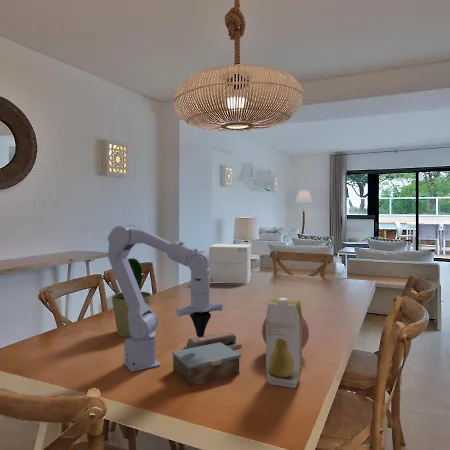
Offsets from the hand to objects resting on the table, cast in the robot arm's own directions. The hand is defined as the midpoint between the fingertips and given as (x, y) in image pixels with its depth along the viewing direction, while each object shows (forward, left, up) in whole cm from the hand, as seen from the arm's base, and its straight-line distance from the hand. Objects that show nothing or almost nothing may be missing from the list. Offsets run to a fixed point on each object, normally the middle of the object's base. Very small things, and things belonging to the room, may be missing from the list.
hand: (200, 336), depth 121 cm
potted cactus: (-8, +45, -10) cm, 47 cm away
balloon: (+28, -6, -10) cm, 30 cm away
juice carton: (+16, -21, -10) cm, 28 cm away
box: (0, -4, -10) cm, 10 cm away
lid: (0, -4, -5) cm, 7 cm away
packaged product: (+12, +14, -11) cm, 21 cm away
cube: (+82, +121, -11) cm, 147 cm away
